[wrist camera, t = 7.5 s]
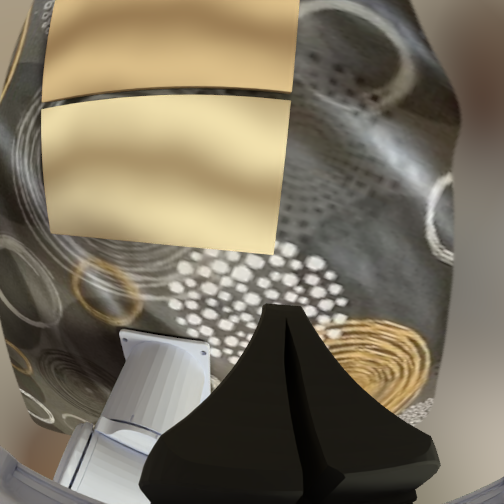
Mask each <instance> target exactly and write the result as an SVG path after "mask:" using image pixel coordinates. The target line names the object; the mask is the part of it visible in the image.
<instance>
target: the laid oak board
mask: <svg viewBox="0 0 504 504" xmlns="http://www.w3.org/2000/svg"><path fill="white" fill-rule="evenodd" d="M298 13H299V0H55V4H54V9H53V13H52V18H51V23H50V29H49V35H48V41H47V48H46V55H45V64H44V74H43V87H42V102H55V101H60V100H65V99H71V98H77V97H84V96H90V95H98V94H106V93H115V92H125V91H137V90H152V89H179V88H210V89H237V90H253V91H265V92H275V93H284V94H290V93H291V92H292V83H293V72H294V61H295V50H296V38H297V26H298Z"/></svg>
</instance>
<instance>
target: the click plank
mask: <svg viewBox="0 0 504 504" xmlns="http://www.w3.org/2000/svg"><path fill="white" fill-rule="evenodd" d="M290 104H291V101H288V100H279V99H269V98H258V97H244V96H226V95H156V96H138V97H125V98H114V99H104V100H96V101H88V102H81V103H74V104H68V105H62V106H57V107H51V108H46V109H41V139H42V162H43V176H44V187H45V196H46V204H47V212H48V218H49V225H50V231H51V234H62V235H72V236H82V237H93V238H103V239H113V240H124V241H134V242H145V243H155V244H165V245H176V246H186V247H197V248H207V249H218V250H228V251H238V252H249V253H259V254H270V255H273V254H274V246H275V238H276V230H277V221H278V213H279V205H280V196H281V188H282V179H283V170H284V161H285V152H286V143H287V133H288V123H289V114H290Z"/></svg>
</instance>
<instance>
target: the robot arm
mask: <svg viewBox="0 0 504 504" xmlns="http://www.w3.org/2000/svg"><path fill="white" fill-rule="evenodd" d="M119 336H120V340H121V344H122V348H123V352H124V356H125V360H126V362H125V364H124V366H123V368H122V371H121V373H120V375H119V377H118V379H117V381H116V383H115V385H114V387H113V390H112V392H111V394H110V396H109V398H108V401H107V403H106V405H105V407H104V409H103V412H102V414H101V416H100V418H99V420H98V421H97V423H96V425H95V427H94V428H93V425H92V424H91V423H89V422H85V423H84V424H83V423H82V424H78V425H77V426H76V428H75V430H74V432H73V434H72V436H71V438H70V440H69V442H68V445H67V447H66V449H65V451H64V454H63V456H62V458H61V461H60V463H59V466H58V468H57V471H56V474H55V476H54V479H53V481H52V480H50V479H48V478H46V477H44V476H42V475H40V474H39V473H37V472H35V471H33V470H31V469H29V468H28V467H26V466H24V465H22V464H21V463H19V462H18V461H17V460H16V459H15V458H14V457H13V456H12V455H11V454H10V453H9V452H8V451H7V450H5V449H4V448H3V447H1V446H0V504H413V502H414V501H416V499H417V495H416V491H415V489H417V488H418V487H419V486H421V485H422V484H423V483H424V482H426V481H427V480H428V479H430V478H431V477H432V476H433V475H434V474H435V473H436V472H437V471H438V469H439V467H440V466H441V465H440V461H439V457H438V454H437V451H436V448H435V445H434V443H433V440H432V438H431V436H429V435H427V434H425V433H424V432H422V431H420V430H418V429H417V428H415V427H413V426H412V425H410V424H408V423H406V422H405V421H403V420H402V419H400V418H399V417H397V416H396V415H395V414H393V413H392V412H390V411H389V410H388V409H386V408H385V407H384V406H382V405H381V404H380V403H379V402H377V401H376V400H375V399H374V398H373V397H372V396H370V395H369V394H368V393H367V392H366V391H365V390H364V389H362V388H361V387H360V386H359V385H358V384H357V383H356V382H355V381H354V380H353V379H352V378H351V376H350V375H349V374H348V373H347V372H346V371H345V370H344V369H343V367H342V366H341V365H340V364H339V363H338V361H337V360H336V359H335V358H334V356H333V355H332V354H331V352H330V351H329V350H328V348H327V347H326V345H325V344H324V342H323V341H322V340H321V338H320V337H319V335H318V334H317V332H316V330H315V329H314V327H313V326H312V324H311V322H310V321H309V319H308V317H307V315H306V314H305V312H304V310H303V309H302V307H301V306H290V305H278V304H265V305H263V307H262V314H261V318H260V320H259V323H258V326H257V328H256V330H255V332H254V334H253V336H252V338H251V340H250V342H249V344H248V345H247V347H246V349H245V350H244V352H243V354H242V355H241V357H240V358H239V360H238V361H237V363H236V364H235V366H234V367H233V368H232V370H231V371H230V372H229V374H228V375H227V376H226V377H225V379H224V380H223V381H222V382H221V383H220V384H219V385H218V387H217V388H216V389H215V390H214V391H213V392H212V393H211V390H210V345H209V344H208V343H207V342H203V341H196V340H188V339H181V338H174V337H168V336H162V335H156V334H150V333H144V332H138V331H133V330H127V329H121V330H120V332H119ZM125 338H126V339H125ZM202 351H205V352H202ZM92 428H93V429H92ZM444 504H504V477H502V478H501V479H499V480H497V481H495V482H493V483H491V484H489V485H487V486H485V487H482V488H480V489H478V490H476V491H474V492H471V493H469V494H467V495H464V496H462V497H460V498H457V499H455V500H452V501H449V502H446V503H444Z"/></svg>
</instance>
